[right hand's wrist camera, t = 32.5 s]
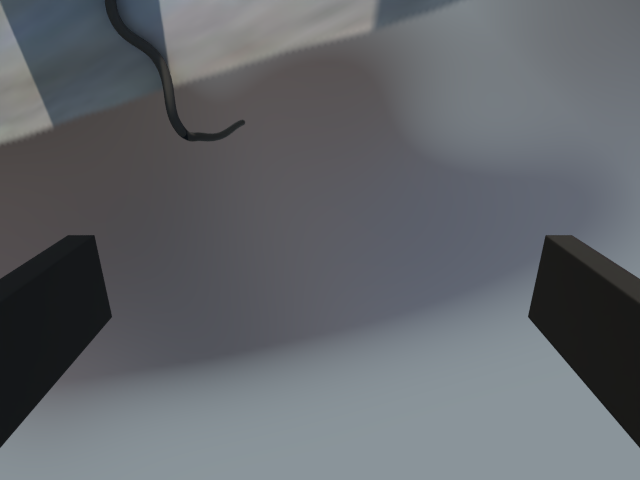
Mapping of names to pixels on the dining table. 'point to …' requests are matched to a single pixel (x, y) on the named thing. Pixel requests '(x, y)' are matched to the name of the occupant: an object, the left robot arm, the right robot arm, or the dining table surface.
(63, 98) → the dining table surface
